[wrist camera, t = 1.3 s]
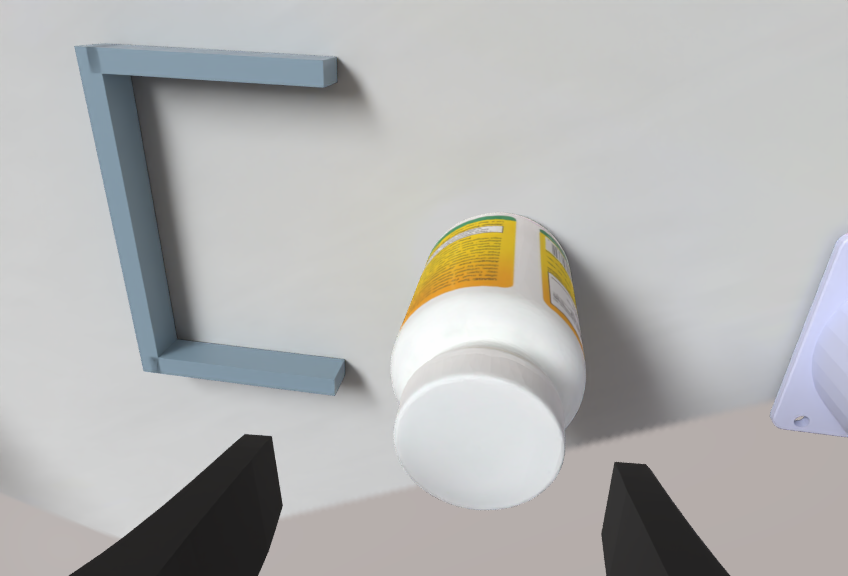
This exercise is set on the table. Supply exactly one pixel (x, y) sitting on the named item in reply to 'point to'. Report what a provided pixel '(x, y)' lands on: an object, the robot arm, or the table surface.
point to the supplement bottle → (488, 365)
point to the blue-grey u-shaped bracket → (135, 214)
